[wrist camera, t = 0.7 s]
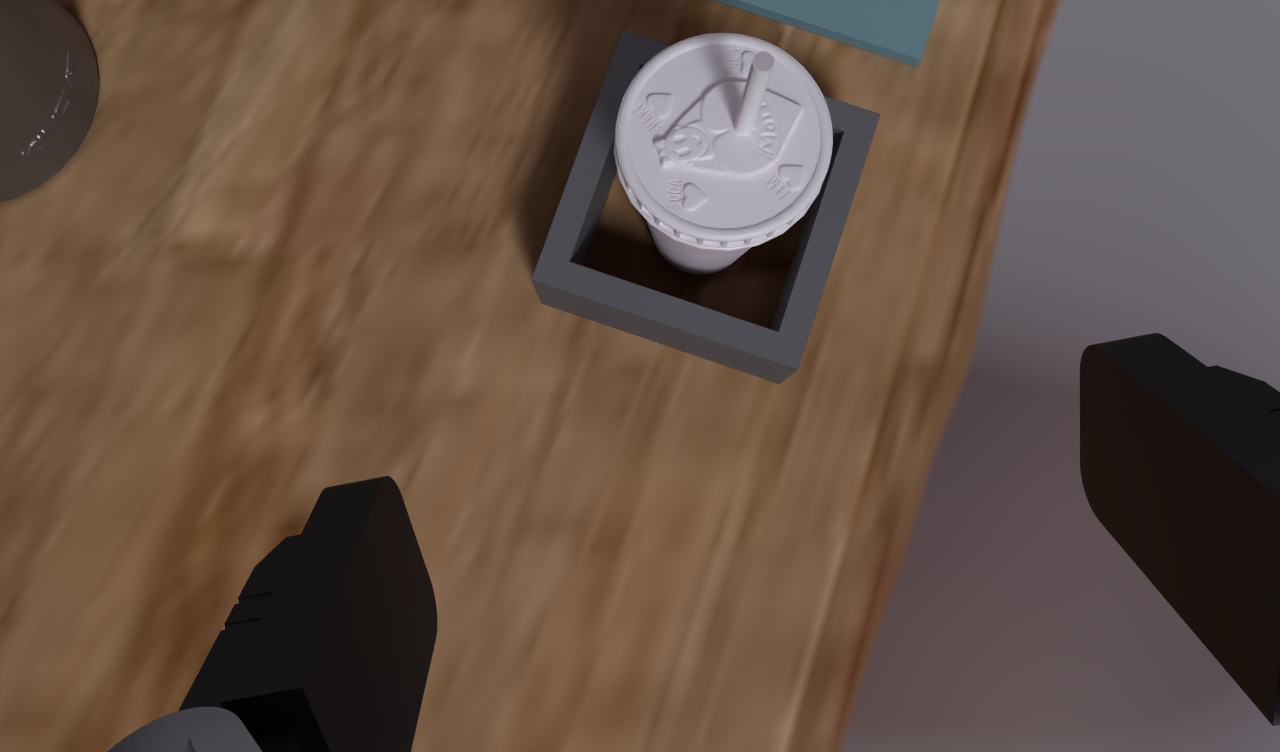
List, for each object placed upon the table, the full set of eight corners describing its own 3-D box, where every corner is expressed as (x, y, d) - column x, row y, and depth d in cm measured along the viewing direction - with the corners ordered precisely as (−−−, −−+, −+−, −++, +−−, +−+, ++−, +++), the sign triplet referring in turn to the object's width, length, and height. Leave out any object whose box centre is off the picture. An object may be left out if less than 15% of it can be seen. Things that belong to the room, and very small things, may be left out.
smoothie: (806, 279, 38) (910, 148, 24) (647, 332, 38) (660, 229, 24) (750, 127, 39) (820, -86, 25) (594, 177, 38) (576, -11, 24)
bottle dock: (541, 303, 38) (531, 279, 34) (623, 78, 39) (622, 29, 35) (779, 383, 37) (797, 369, 33) (854, 154, 38) (880, 114, 35)
